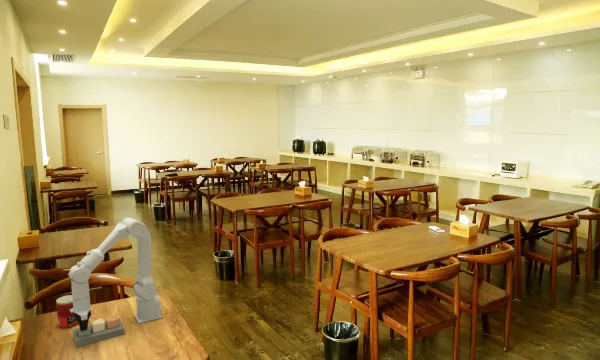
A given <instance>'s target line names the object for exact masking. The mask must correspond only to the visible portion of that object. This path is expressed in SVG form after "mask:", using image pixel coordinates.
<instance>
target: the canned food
mask: <svg viewBox="0 0 600 360" xmlns="http://www.w3.org/2000/svg"><path fill="white" fill-rule="evenodd" d="M55 301H56V302H55V303H56V304H55V305H56V313H57V324H58V327H59V328H62V329H70V328H73V327H76V326H77V325H79V324H78V321H77V320H76V319H75V317H74V312H72V313H71V312H70V309H73V298H72V294H70V295H69V294H68V295H63V296H61V297H59V298H57V299H56V300H55Z"/></svg>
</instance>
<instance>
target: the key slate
mask: <svg viewBox="0 0 600 360" xmlns="http://www.w3.org/2000/svg"><path fill="white" fill-rule="evenodd" d="M89 326H90V325H88V328H87V330H85V331H81V330H80V329H78V328H77V329H78V337H80V336H84V335H88V334H91V332H90V328H89Z"/></svg>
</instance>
